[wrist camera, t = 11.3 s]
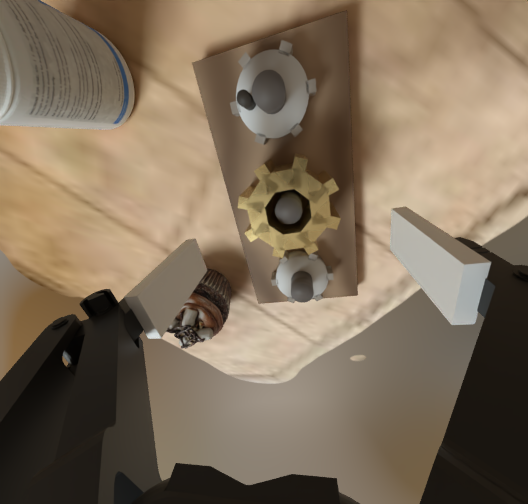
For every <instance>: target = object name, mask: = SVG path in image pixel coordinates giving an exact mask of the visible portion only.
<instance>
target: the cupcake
mask: <svg viewBox="0 0 528 504" xmlns="http://www.w3.org/2000/svg"><path fill="white" fill-rule="evenodd" d="M230 299H231V287H230V284H229V282H228V281H227V280H226V278H225V277H224V276H223V275H222V274H220V273H218V272H217V271H214V270H211V269H207V272H206V273H205V275H204V276H203V278H202V279H201V281H200V282H199V284H198V285H197V287H196V288H195V289H194V291H193V292H192V294H191V295H190V297H189V298H188V300H187V301H186V303H185V304H184V306H183V307H182V308H181V310H180V311H179V313H178V314H177V316H176V317H175V319H174V320H173V322H172V323H171V325H170V326H169V328H168V329H167V330H166V332H169V333H176V334H175V335H174V336H175V337H176V338H178V339H180V340H179V344H180V345H181V348H188V347H190V346H192V345H194V344H195V343H196V342H203V341H205V340H209V339H212V337H213V336H215V335H216V334H218V332H219V331H220V330H221V329H222V327H223V325H224V323H225V321H226V319H227V318H228V314H229V308H230Z"/></svg>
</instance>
